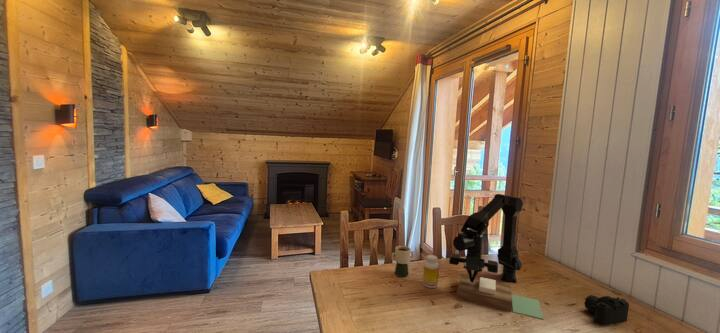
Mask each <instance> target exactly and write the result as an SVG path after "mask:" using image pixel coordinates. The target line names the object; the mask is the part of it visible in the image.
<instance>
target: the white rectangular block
mask: <svg viewBox="0 0 720 333" xmlns="http://www.w3.org/2000/svg"><path fill="white" fill-rule="evenodd" d="M479 279H480V285H479V291H481V292H485V293H490V294H494V295H495V291H496V283H497V282H496V281H497V280H496V279H492V278H486V277H482V276H481V277H480V278H479Z"/></svg>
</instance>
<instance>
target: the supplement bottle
mask: <svg viewBox="0 0 720 333" xmlns="http://www.w3.org/2000/svg"><path fill="white" fill-rule="evenodd" d="M439 275H440V264H439V262H438V256H436V255H434V254H428V255H426V260H425V261H424V263H423V274H422V285H423V286H424V287H426V288H428V289H435V288H437V287H438V286H439Z"/></svg>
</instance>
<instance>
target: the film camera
mask: <svg viewBox="0 0 720 333" xmlns="http://www.w3.org/2000/svg"><path fill="white" fill-rule="evenodd" d="M584 299H585V300H584V308H586V309H587V310H588V311H590V312H591V313H593V315H594V318H593V321H594V322H595V323H596V324H598V325H601V326H609V325H613V324H618V323H623V322H626V321H628V315H629V308H630V303H629V302H628V301H627V300H626V299H624V298H620V297H618V296H617V297H616V298H615V297H611V296H610V295H605V296H600V297H598V296H596V295H593V294H590V295H588V296H587V297H586V298H584Z"/></svg>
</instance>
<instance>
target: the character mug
mask: <svg viewBox="0 0 720 333" xmlns="http://www.w3.org/2000/svg"><path fill="white" fill-rule="evenodd" d="M394 248H395V249H394V252H392V253H391V260H394V261H395V262H396V265H395V269H394V270H395V271H394V274H395V275H396V276H398V277H401V278H405V277H408V276H409V266H408V264H409V263H410V262H411V259H413V258H414V251H412V250H411V247H410V246H406V245H396V246H395V247H394Z"/></svg>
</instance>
